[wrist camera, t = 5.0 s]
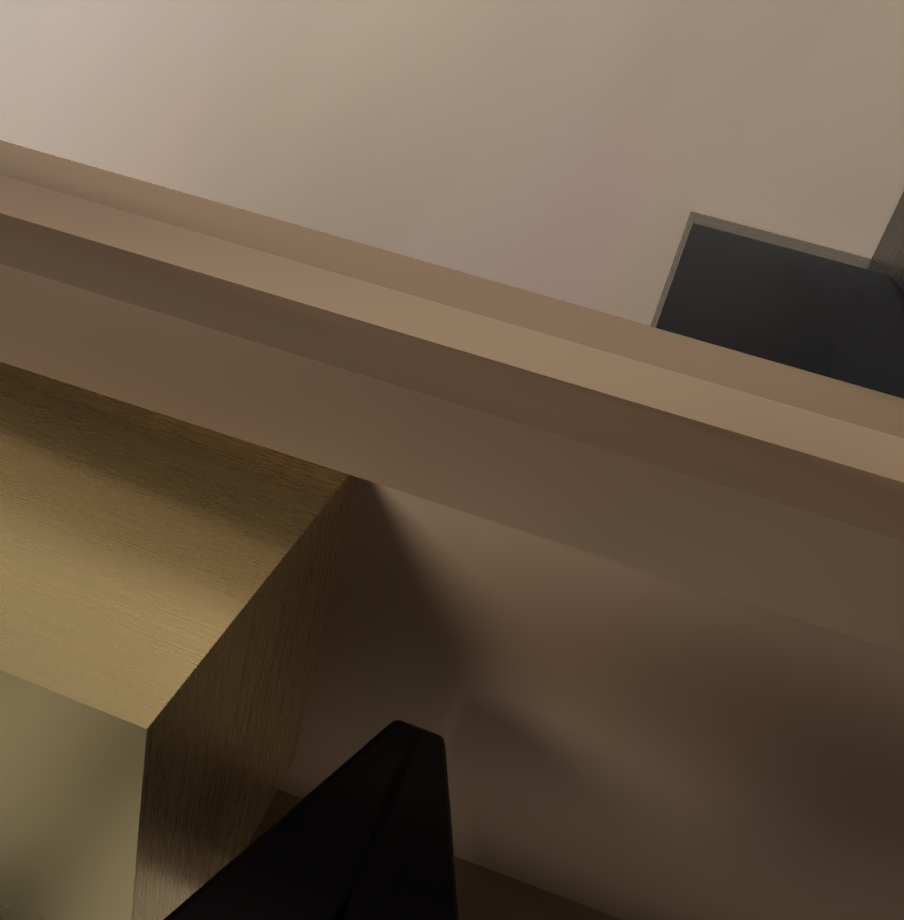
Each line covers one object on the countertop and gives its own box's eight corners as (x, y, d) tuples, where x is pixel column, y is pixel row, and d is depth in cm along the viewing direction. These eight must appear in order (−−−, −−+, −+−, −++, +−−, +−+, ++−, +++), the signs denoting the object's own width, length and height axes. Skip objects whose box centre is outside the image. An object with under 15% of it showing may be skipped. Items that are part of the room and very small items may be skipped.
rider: (292, 763, 11) (117, 1083, 8) (-25, 636, 12) (-324, 882, 8) (359, 460, 9) (147, 728, 5) (-45, 316, 9) (-489, 474, 6)
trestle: (874, 835, 17) (966, 1177, 12) (514, 712, 18) (452, 981, 13) (1290, 274, 11) (1852, 469, 6) (719, 130, 12) (762, 186, 7)
